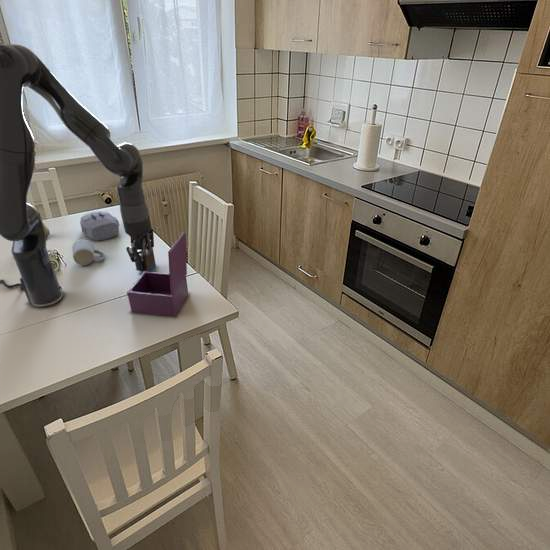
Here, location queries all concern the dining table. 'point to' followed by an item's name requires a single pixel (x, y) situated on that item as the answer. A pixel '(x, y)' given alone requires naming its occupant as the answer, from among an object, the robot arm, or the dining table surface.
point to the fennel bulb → (44, 226)
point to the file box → (156, 295)
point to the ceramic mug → (85, 252)
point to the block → (148, 259)
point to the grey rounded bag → (99, 225)
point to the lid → (177, 263)
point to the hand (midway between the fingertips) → (146, 266)
